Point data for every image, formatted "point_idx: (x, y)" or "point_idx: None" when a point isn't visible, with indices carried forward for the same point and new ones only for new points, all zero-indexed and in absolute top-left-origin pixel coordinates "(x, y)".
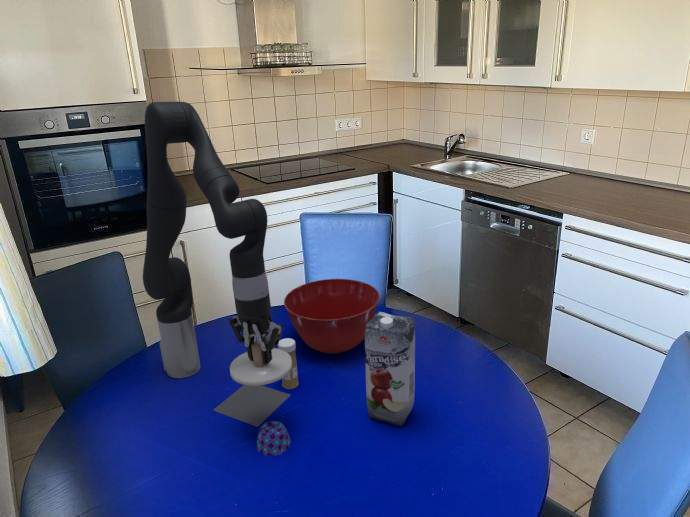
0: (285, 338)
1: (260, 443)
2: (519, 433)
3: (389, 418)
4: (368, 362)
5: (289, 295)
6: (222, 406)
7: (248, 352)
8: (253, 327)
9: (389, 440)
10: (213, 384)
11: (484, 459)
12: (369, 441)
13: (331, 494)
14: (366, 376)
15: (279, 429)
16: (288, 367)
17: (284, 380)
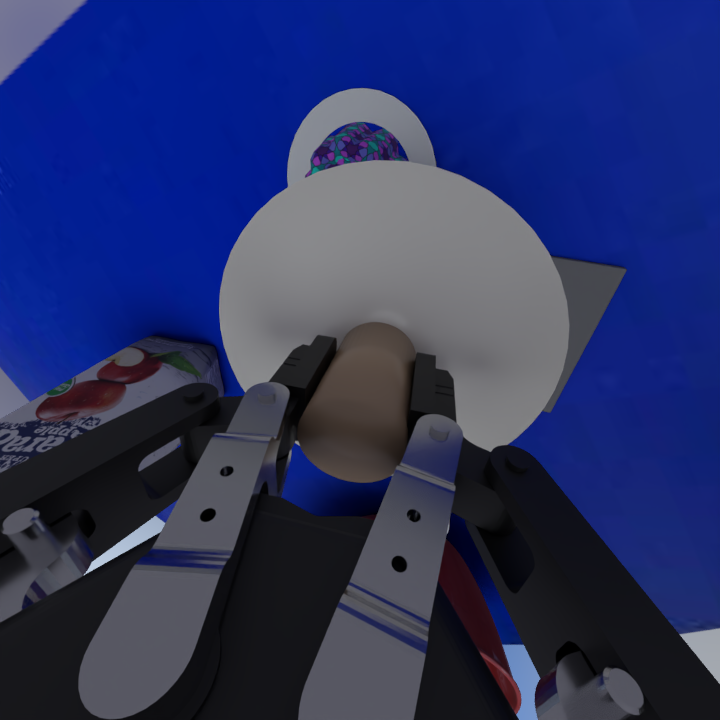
0: None
1: (371, 136)
2: (17, 361)
3: (161, 342)
4: None
5: (513, 700)
6: (595, 295)
7: (444, 394)
8: (181, 626)
9: (148, 292)
10: (670, 388)
11: (8, 290)
12: (176, 278)
13: (132, 60)
14: None
15: None
16: (225, 350)
17: None
